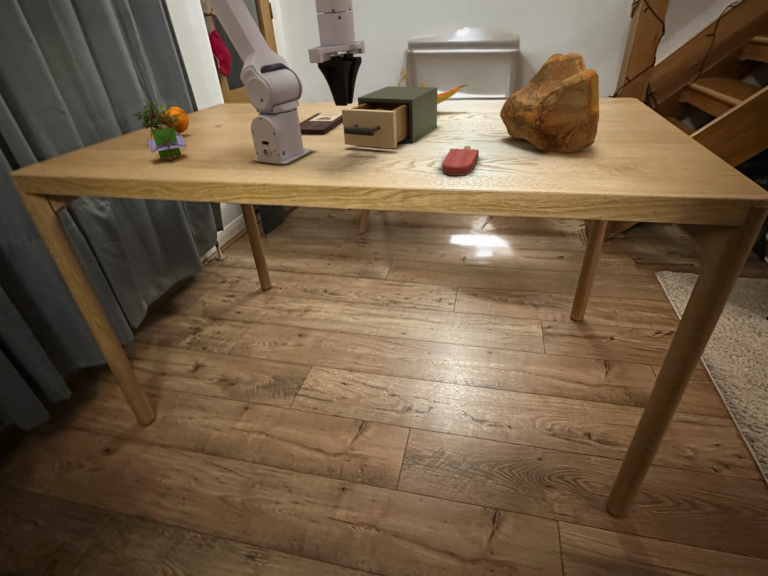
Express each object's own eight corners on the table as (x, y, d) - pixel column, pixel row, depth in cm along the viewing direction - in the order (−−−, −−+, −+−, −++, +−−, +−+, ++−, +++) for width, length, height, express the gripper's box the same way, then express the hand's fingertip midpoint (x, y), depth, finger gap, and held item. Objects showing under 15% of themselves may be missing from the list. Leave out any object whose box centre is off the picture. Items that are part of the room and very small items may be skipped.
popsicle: (481, 143, 82) (470, 167, 71) (481, 151, 83) (470, 176, 71) (454, 142, 84) (438, 166, 72) (453, 150, 85) (438, 175, 73)
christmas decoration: (216, 148, 117) (177, 150, 98) (173, 135, 116) (127, 135, 97) (221, 111, 113) (182, 105, 94) (177, 98, 113) (129, 90, 94)
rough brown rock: (496, 131, 98) (496, 58, 90) (573, 123, 95) (581, 47, 87) (505, 166, 80) (506, 78, 71) (601, 158, 76) (615, 65, 68)
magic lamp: (467, 115, 110) (469, 67, 104) (397, 117, 112) (396, 70, 106) (466, 110, 115) (469, 64, 109) (400, 111, 118) (399, 67, 112)
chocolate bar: (288, 129, 102) (317, 113, 117) (289, 133, 103) (318, 116, 117) (323, 129, 100) (348, 113, 114) (324, 134, 101) (349, 117, 115)
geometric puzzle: (189, 150, 86) (176, 113, 86) (153, 157, 83) (139, 118, 83) (191, 165, 93) (179, 130, 93) (157, 171, 90) (145, 136, 90)
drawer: (385, 154, 82) (383, 117, 78) (334, 149, 86) (330, 114, 82) (420, 132, 95) (420, 98, 91) (374, 129, 99) (372, 97, 95)
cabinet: (412, 143, 91) (412, 99, 86) (360, 139, 96) (357, 97, 91) (436, 127, 101) (437, 87, 97) (388, 124, 106) (387, 86, 102)
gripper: (332, 13, 61) (342, 113, 68) (377, 9, 72) (382, 97, 79) (291, 15, 64) (306, 112, 71) (341, 12, 75) (349, 96, 82)
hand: (344, 104), depth 75 cm, fingers closed
